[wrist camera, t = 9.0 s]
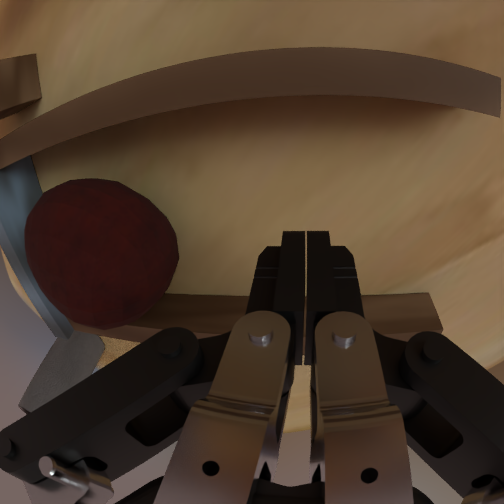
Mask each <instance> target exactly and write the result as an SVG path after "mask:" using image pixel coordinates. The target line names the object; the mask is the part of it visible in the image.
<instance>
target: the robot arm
mask: <svg viewBox="0 0 504 504" xmlns="http://www.w3.org/2000/svg"><path fill="white" fill-rule="evenodd" d="M304 309H305V231H283V235H282V243H281V246H267V247H266V248H265V249H264V250H263V252H262V253H261V254H260V255H259V257H258V261H257V266H256V270H255V274H254V279H253V283H252V287H251V292H250V296H249V300H248V305H247V309H246V313H245V315H244V316H243V317H241V318H240V319H239V320H238V321H237V322H236V323H235V324H234V326H233V328H232V330H231V331H229V332H227V333H224V334H221V335H217V336H212V337H207V338H202V339H197V337H196V336H195V334H194V333H193V332H191V331H190V330H188V329H186V328H182V327H171V328H167V329H164V330H161V331H159V332H158V333H156V334H154V335H153V336H151V337H150V338H148V339H147V340H145V341H144V342H142V343H141V344H139V345H137V346H136V347H134V348H133V349H131V350H130V351H128V352H127V353H125V354H123V355H122V356H120V357H119V358H117V359H116V360H114V361H112V362H111V363H109V364H108V365H106V366H105V367H103V368H101V369H100V370H98V371H97V372H95V373H94V374H92V375H90V376H89V377H87V378H86V379H84V380H82V381H81V382H79V383H78V384H76V385H74V386H73V387H71V388H70V389H68V390H66V391H65V392H63V393H62V394H60V395H58V396H57V397H55V398H54V399H52V400H50V401H49V402H47V403H45V404H44V405H42V406H41V407H39V408H37V409H36V410H34V411H32V412H31V413H29V414H27V415H26V416H24V417H23V418H21V419H20V420H18V421H16V422H14V423H13V424H11V425H10V426H8V427H6V428H4V429H3V430H2V431H1V432H0V468H1V469H2V470H4V471H5V472H7V473H9V474H11V475H13V476H15V477H17V478H19V479H21V480H22V481H23V482H24V485H25V487H26V490H27V493H28V495H29V498H30V500H31V503H32V504H105V503H106V502H107V501H108V500H109V499H111V498H112V497H113V495H114V490H113V488H112V487H111V481H113V480H115V479H117V478H119V477H120V476H122V475H124V474H125V473H127V472H129V471H130V470H132V469H134V468H135V467H137V466H139V465H140V464H142V463H144V462H145V461H147V460H148V459H150V458H152V457H153V456H155V455H156V454H158V453H159V452H161V451H162V450H163V449H165V448H167V447H168V446H170V445H171V444H173V443H174V442H175V441H177V440H178V442H177V445H176V447H175V450H174V452H173V455H172V457H171V460H170V463H169V465H168V467H167V470H166V472H165V475H164V476H162V477H159V478H157V479H155V480H153V481H150V482H149V483H147V484H146V485H144V486H142V487H141V488H139V489H138V490H136V491H134V492H133V493H131V494H130V495H128V496H126V497H125V498H123V499H121V500H120V501H118V502H116V503H115V504H434V503H433V502H432V501H431V500H430V499H429V498H428V497H427V496H426V495H425V494H424V493H422V492H421V491H420V490H418V489H417V488H415V487H413V486H412V479H411V470H410V462H409V455H408V447H407V445H408V446H409V447H410V448H411V449H413V450H414V451H415V452H416V453H417V454H418V455H419V456H420V457H421V458H422V459H423V460H424V461H425V462H426V463H427V464H428V465H429V466H430V467H431V468H432V469H433V470H434V471H435V472H436V473H437V474H438V475H439V476H440V477H441V478H442V479H443V480H444V481H446V482H447V483H448V484H449V485H450V486H451V487H452V488H453V489H454V490H456V492H457V493H458V494H459V495H460V496H462V498H464V499H463V501H462V503H461V504H504V385H503V384H502V383H501V382H500V381H499V380H498V379H496V378H495V377H494V376H493V375H492V374H491V373H489V372H488V371H487V370H486V369H485V368H483V367H482V366H481V365H480V364H479V363H477V362H476V361H475V360H474V359H473V358H471V357H470V356H469V355H468V354H467V353H465V352H464V351H463V350H462V349H460V348H459V347H458V346H457V345H455V344H454V343H453V342H452V341H450V340H449V339H448V338H447V337H445V336H444V335H442V334H440V333H437V332H433V331H423V332H419V333H417V334H415V335H414V336H412V337H411V338H410V339H409V341H408V342H407V341H402V340H398V339H394V338H390V337H386V336H384V335H381V334H379V333H378V332H376V331H375V330H374V329H373V328H372V327H371V325H370V324H369V322H368V321H367V320H366V319H365V316H364V311H363V305H362V299H361V294H360V288H359V283H358V278H357V272H356V269H355V262H354V258H353V255H352V254H351V253H350V251H349V250H348V249H347V248H346V247H345V246H331V244H330V236H329V231H307V307H306V338H305V360H304V365H311V380H310V421H311V452H310V470H309V472H310V473H309V475H310V476H309V484H304V485H299V486H293V487H287V486H283V485H279V484H276V483H273V480H274V476H275V472H276V467H277V462H278V456H279V448H280V442H281V438H282V433H283V428H284V423H285V419H286V414H287V409H288V403H289V398H290V393H291V386H292V384H293V380H294V369H295V365H302V355H303V335H304Z"/></svg>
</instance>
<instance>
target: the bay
mask: <svg viewBox="0 0 504 504" xmlns="http://www.w3.org/2000/svg"><path fill="white" fill-rule="evenodd" d="M298 95H353V96H372V97H386V98H396V99H406V100H414V101H421V102H428V103H435V104H441V105H447V106H452V107H457V108H462V109H467V110H471V111H476V112H480V113H484V114H488V115H492V116H495V117H499V118H500V111H501V78H499V77H497V76H494V75H491V74H488V73H485V72H482V71H478V70H475V69H472V68H468V67H465V66H461V65H457V64H454V63H449V62H445V61H441V60H436V59H432V58H427V57H421V56H416V55H410V54H403V53H396V52H389V51H380V50H369V49H356V48H331V47H308V48H283V49H269V50H259V51H249V52H241V53H234V54H227V55H221V56H215V57H210V58H204V59H199V60H194V61H190V62H185V63H181V64H177V65H173V66H169V67H165V68H161V69H157V70H154V71H150V72H147V73H143V74H140V75H137V76H134V77H131V78H128V79H125V80H122V81H119V82H116V83H113V84H111V85H108V86H105V87H103V88H100V89H97V90H95V91H92V92H90V93H88V94H85V95H83V96H81V97H78V98H76V99H74V100H71V101H69V102H67V103H65V104H63V105H61V106H59V107H57V108H55V109H53V110H51V111H49V112H47V113H45V114H43V115H41V116H39V117H37V118H35V119H34V120H32V121H30V122H28V123H26V124H25V125H23V126H21V127H19V128H18V129H16V130H14V131H13V132H11V133H10V134H8V135H6V136H5V137H3V138H2V139H0V245H1V247H2V249H3V251H4V253H5V255H6V257H7V259H8V261H9V263H10V265H11V267H12V269H13V271H14V273H15V274H16V276H17V278H18V280H19V282H20V283H21V285H22V287H23V288H24V290H25V292H26V293H27V295H28V297H29V298H30V300H31V301H32V303H33V305H34V306H35V308H36V309H37V311H38V312H39V314H40V315H41V317H42V318H43V320H44V321H45V323H46V324H47V326H48V327H49V328H50V330H51V331H52V332H53V334H54V335H55V337H59V338H63V339H66V340H69V338H70V337H71V335H72V333H73V332H74V330H75V331H80V332H85V333H90V334H95V335H100V336H105V337H110V338H116V339H122V340H128V341H134V342H140V343H142V342H144V341H145V340H147V339H148V338H150V337H151V336H153V335H154V334H156V333H158V332H159V331H161V330H164V329H167V328H171V327H182V328H186V329H188V330H190V331H191V332H193V333H194V334H195V336H196V337H197V339H202V338H207V337H212V336H217V335H221V334H224V333H227V332H229V331H231V330H232V328H233V326H234V324H235V323H236V322H237V321H238V320H239V319H240V318H241V317H243V316H244V315H245V313H246V309H247V305H248V300H249V296H213V295H185V294H163V296H162V297H161V298H160V299H159V300H158V301H157V302H156V303H155V304H154V305H153V306H152V307H151V308H150V309H149V310H148V311H147V312H146V313H145V314H144V315H142V316H141V317H140V318H139V319H137V320H136V321H135V322H132V323H130V324H127V325H124V326H121V327H117V328H112V329H107V330H101V329H96V328H92V327H88V326H84V325H81V324H78V323H75V322H73V321H72V320H70V319H69V318H68V317H66V316H65V315H63V314H62V313H61V312H60V311H59V310H58V309H57V308H56V307H55V306H54V305H53V304H52V303H51V302H50V301H49V300H48V299H47V297H46V296H45V295H44V293H43V292H42V291H41V289H40V288H39V286H38V284H37V282H36V280H35V278H34V276H33V274H32V271H31V269H30V267H29V265H28V262H27V257H26V252H25V239H24V229H25V224H26V220H27V217H28V215H29V213H30V212H31V210H32V209H33V207H34V206H35V204H36V203H37V201H38V200H39V199H40V197H41V196H42V195H43V194H42V191H41V188H40V185H39V182H38V179H37V176H36V172H35V169H34V166H33V163H32V159H31V156H30V155H32V154H34V153H36V152H38V151H41V150H43V149H46V148H48V147H51V146H53V145H56V144H58V143H61V142H64V141H66V140H69V139H72V138H74V137H77V136H80V135H83V134H86V133H89V132H92V131H95V130H98V129H102V128H105V127H108V126H112V125H115V124H118V123H122V122H126V121H129V120H133V119H137V118H141V117H145V116H149V115H154V114H158V113H163V112H167V111H172V110H177V109H182V108H188V107H193V106H199V105H205V104H212V103H219V102H226V101H234V100H243V99H252V98H264V97H278V96H298ZM40 98H42V95H41V90H40V83H39V77H38V69H37V61H36V54H30V55H24V56H18V57H12V58H7V59H2V60H0V119H3V118H5V117H8V116H10V115H13V114H15V113H17V112H19V111H20V110H22V109H23V108H25V107H27V106H28V105H30V104H31V103H33V102H35V101H36V100H38V99H40ZM361 299H362V305H363V311H364V316H365V319H366V320H367V321H368V322H369V324H370V325H371V327H372V328H373V329H374V330H375V331H376V332H378V333H379V334H381V335H384V336H386V337H390V338H394V339H398V340H402V341H407V342H408V341H409V339H410V338H411V337H412V336H414V335H415V334H417V333H419V332H423V331H433V332H437V333H440V334H441V333H442V331H443V327H442V324H441V322H440V319H439V316H438V314H437V311H436V309H435V306H434V304H433V301H432V299H431V297H430V294H429V293H414V294H393V295H366V296H361ZM306 307H307V297H305V309H304V335H303V355H305V338H306Z"/></svg>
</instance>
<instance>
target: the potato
mask: <svg viewBox="0 0 504 504" xmlns="http://www.w3.org/2000/svg"><path fill="white" fill-rule="evenodd" d="M24 239H25V252H26V257H27V262H28V265H29V267H30V269H31V271H32V274H33V276H34V278H35V280H36V282H37V284H38V286H39V288H40V289H41V291H42V292H43V293H44V295H45V296H46V297H47V299H48V300H49V301H50V302H51V303H52V304H53V305H54V306H55V307H56V308H57V309H58V310H59V311H60V312H61V313H62V314H63V315H65V316H66V317H68V318H69V319H70V320H72V321H73V322H75V323H78V324H81V325H84V326H88V327H92V328H96V329H101V330H107V329H112V328H117V327H121V326H124V325H127V324H130V323H132V322H135V321H136V320H137V319H139V318H140V317H141V316H142V315H144V314H145V313H146V312H147V311H148V310H149V309H150V308H151V307H152V306H153V305H154V304H155V303H156V302H157V301H158V300H159V299H160V298H161V297H162V296H163V294H164V293H165V291H166V290H167V289H168V287H169V285H170V283H171V280H172V277H173V275H174V272H175V270H176V267H177V263H178V260H179V253H178V245H177V238H176V234H175V232H174V230H173V228H172V226H171V224H170V222H169V221H168V219H167V217H166V216H165V215H164V214H163V213H162V212H161V211H160V210H159V209H158V208H157V207H156V206H155V205H154V204H153V203H152V202H151V201H150V200H149V199H147V198H146V197H144V196H142V195H140V194H139V193H137V192H135V191H133V190H132V189H130V188H128V187H126V186H125V185H123V184H121V183H120V182H117V181H110V180H104V179H77V180H69V181H67V182H65V183H62V184H60V185H58V186H56V187H54V188H52V189H50V190H48V191H46V192H44V193H43V195H42V196H41V197H40V199H39V200H38V201H37V203H36V204H35V206H34V207H33V209H32V210H31V212H30V213H29V215H28V217H27V220H26V224H25V229H24Z"/></svg>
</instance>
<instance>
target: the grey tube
mask: <svg viewBox="0 0 504 504" xmlns="http://www.w3.org/2000/svg"><path fill="white" fill-rule="evenodd" d="M104 349H105V347H104V343H103V342H102V340H101V339H100V337H99V336H98V335H95V334H90V333H85V332H80V331H75V330H74V332H73V333H72V335H71V337H70V338H69V340H66V339H63V338H59V337H58V338H57V339H56V341H55V343H54V344H53V346H52V347H51V349H50V350H49V352H48V354H47V355H46V357H45V358H44V360H43V362H42V363H41V365H40V367H39V368H38V370H37V372H36V373H35V375H34V377H33V379H32V380H31V382H30V384H29V386H28V387H27V389H26V391H25V393H24V395H23V397H22V399H21V400H20V402H19V405H18V406H19V408H20V409H21V410H22V411H24V412H25V413H26V414H29V413H31V412H32V411H34V410H36V409H37V408H39V407H41V406H42V405H44V404H45V403H47V402H49V401H50V400H52V399H54V398H55V397H57V396H58V395H60V394H62V393H63V392H65V391H66V390H68V389H70V388H71V387H73V386H74V385H76V384H78V383H79V382H81V381H82V380H84V379H86V378H87V377H89V376H90V375H91V374H92V372H93V370H94V369H95V367H96V365H97V363H98V361H99V359H100V357H101V355H102V353H103V351H104Z"/></svg>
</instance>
